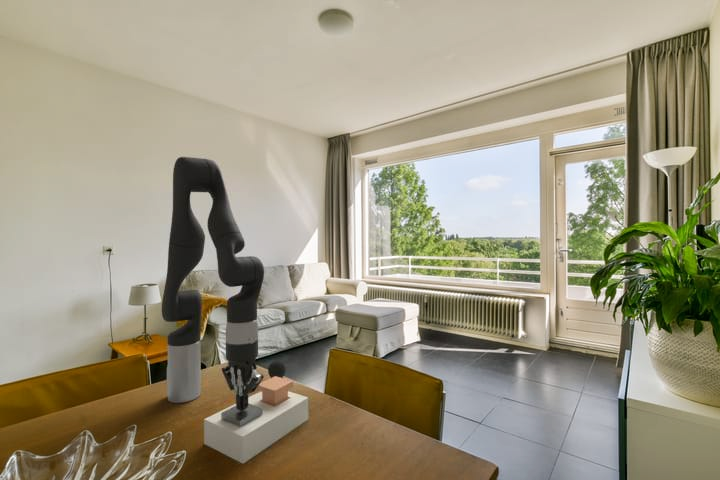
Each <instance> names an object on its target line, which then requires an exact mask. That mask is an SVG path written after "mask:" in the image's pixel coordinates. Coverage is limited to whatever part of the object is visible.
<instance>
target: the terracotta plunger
mask: <svg viewBox="0 0 720 480" xmlns="http://www.w3.org/2000/svg"><path fill="white" fill-rule="evenodd" d="M293 387H294V381H293V380H289V379H286V378H284V377H283V378H280V377H276V376H275V377H273V378H271V377H270V378H268V379H266V380H264V381H261V383H260V384H259V386H258V387H257V389H256V390H257V391H259V392H262V402H263V403H266V404H269V405H272V406H277V405H279V404H281V403H282V402H284V401H286V400H288V391H289V389H291V388H293Z"/></svg>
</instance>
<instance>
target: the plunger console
mask: <svg viewBox="0 0 720 480" xmlns="http://www.w3.org/2000/svg"><path fill="white" fill-rule="evenodd" d="M248 403H249V404H252V405H254V406H257V407H260V408H262V409H263V414H262V415H260V416H258V417H257V418H255V419H253V420H251V421H250V422H248V423H246V424H244V425H242V426H241V427H239V426H237V425H234V424H232V423H230V422H227V421H225V420H223V419H221V413H222V412H224V411H226V410H228V409H230V408H232V407H234V406H236V403H234V404H232V405H231V406H228V407H227V408H224V409H222V410H219V411H218V412H215V413H214V414H211V415H210V416H208V417H206V418H204V419H203V431H204V432H203V437H204V438H203V439H204V440H203V443H204V444H203V445H205V446H208V447H209V448H211V449H214V450H215V451H218V452H219V453H221V454H223V455H225V456H227V457H229V458H230V459H233V460H235V461H237V462H238V463H241V464H245V463H246V462H248V461H249V460H251V459H252V458H254V457H256V456H257V455H259V453H262V452H263V451H264V450H266V449H268V448H269V447H270V446H271V445H273V444H275V443H276V442H277V441H279V440H280V439H282V438H283V437H285V436H286V435H287V434H289V433H290V432H292V431H293V430H296V429H297V427H299V426H301V425H302V424H304V423H305V422H306V421H308V420H309V397H308V396H305V395H301V394H299V393H295V392H292V391H289V390H288V400H286V401H284V402H282V403H281V404H279V405H277V406H272V405H269V404H266V403H263V402H262V392H261V391H259V392H257V393H255V394H253V395H250V396H248Z"/></svg>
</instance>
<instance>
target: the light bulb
mask: <svg viewBox="0 0 720 480" xmlns="http://www.w3.org/2000/svg"><path fill="white" fill-rule="evenodd" d="M286 370H287V367H286V364H285V363H284V362H283V361H282V360H279V359H276V360H272V362H271V363H270V364H269V366H268V367H267V372H268V376H269V377H270V378H273V377H275V376H276V377H280V378H283V379H284V376H285V375H286Z"/></svg>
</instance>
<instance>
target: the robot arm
mask: <svg viewBox="0 0 720 480" xmlns="http://www.w3.org/2000/svg"><path fill="white" fill-rule="evenodd" d="M227 192H228V191H227V188H226V185H225V181H224V178H223V174H222V172H221V168H220V166H219V165H218V164H217V163H216V162H215V160H212V159H209V158H201V157H190V156H180V157H177V159H176V160H175V163H174V165H173V173H172V214H171V215H172V216H171V225H170V232H169V239H168V241H169V242H168V253H167V271H166V278H165V282H164V283H165V284H164V289H163V295H162V301H161V316H162V318H163V320H164V321H165V322H168V323H175V322H182V321H186V323H185V324H183V326H180V328H178V329H175V330H173V331H171V332H170V333H169V334H168V336H167V366H166V397H167V401H168V402H170V403H173V404H182V403H188V402H190V401H193V400H195V399H197V398H199V397H200V395H201V388H202V387H201V385H202V384H201V380H202V379H201V378H202V377H201V376H202V375H201V366H202V365H201V364H202V363H201V361H202V359H201V355H202V354H201V349H202V348H201V333H202V314H203V313H202V310H203V302H202V301H203V298H202V295H201V292H200V291H199V290H198V289H189V290H188V289H187V290H180V288H181V286H182V284H183V282H184V281H185V279H186V278H187V276H189V275H190V273H191V272H193V270H194V269H195V268H196V267H197V266H198V265H199V263H200V262H201V260H202V259H203V256H204V250H205V244H206V243H205V241H206V234H205V231H204V229H203V227H202V226H201V223H199V221H198V219H197V218H196V216H195V214H194V211H193V210H192V206H191V193H208V194H209V195H210V197H211V198H212V199H211V200H212V205H211V208H210V212H209V214H208V218H207V224H206V225H207V230H208V233H209V237H210V238H211V241H212V243H213V247H214V248H215V252H216V260H217V261H216V262H217V273H218V278H219V279H220V281H221V283H223V284H224V285H225V286H227V287H229V288H235V287H241V288H240V290H239V292H238V293H236V294H235V295H232V296H230V297H229V298H228V299H227V301H226V327H225V360H226V361H227V365H226V366H224V367H222V368H221V372H222V374H223V377H224V380H225V381H226V384H227V386H228V388H229V390H230V391H234V392H233V393H234V395H235V404H236V408H237V409H238V410H240V411H243V410H245V409H246V408H247V407H248V397H249V395H250V394H252V393H254V392H256V390H257V387H258V386H259V384H260V383H262V382H263V380H264V374H263V373H260V374H259V372H258V371H257V364H256V359H257V358H258V356H259V325H258V324H259V323H258V301H259V298H260V293H261V290H262V286H263V281H264V276H265V268H264V267H265V266H264V264H263V262H262V260H261V259H260V258H259V257H257V256H251V255H250V256H236V255H237V254H238V253H240V252H242V251H243V250H244V249H245V246H246V245H245V243H246V242H245V239H244V237H243V234H242V232H241V230H240V228H239V226H238V224H237V222H236V219H235V218H234V214H233V211H232V209H231V204H230V202H229V201H230V200H229V197H228V196H229V195H228V193H227Z"/></svg>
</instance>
